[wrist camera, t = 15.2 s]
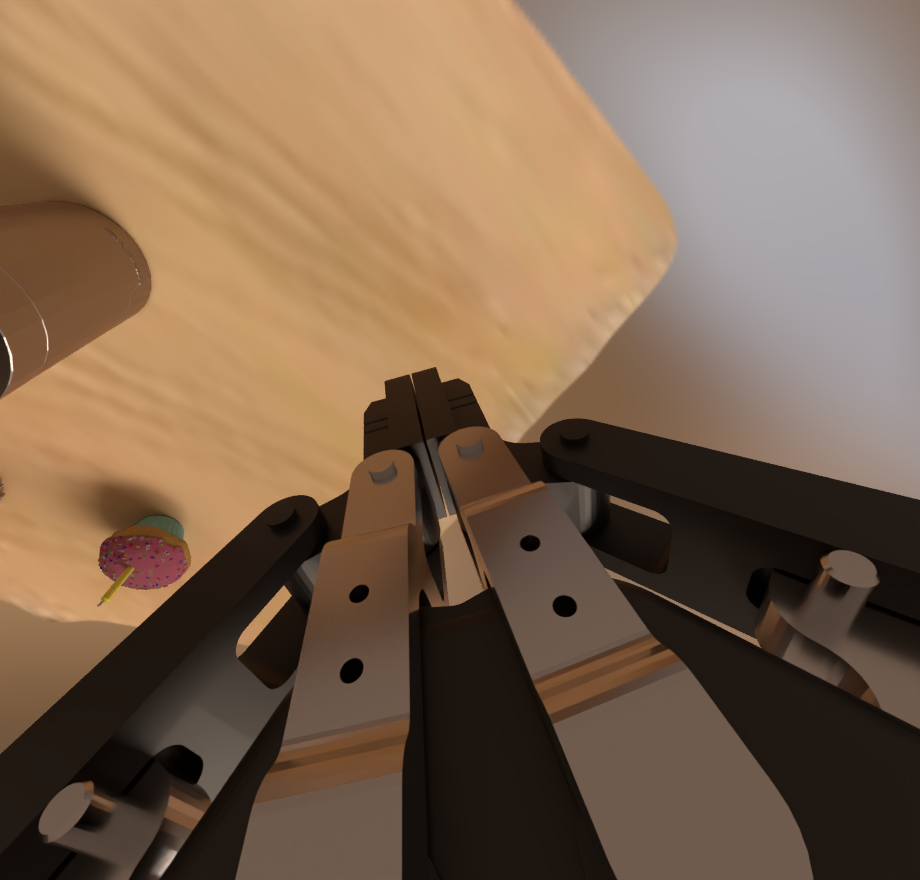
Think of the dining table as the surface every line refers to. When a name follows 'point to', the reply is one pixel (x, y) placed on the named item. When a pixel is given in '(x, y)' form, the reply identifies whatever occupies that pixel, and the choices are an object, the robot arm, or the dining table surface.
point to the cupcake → (145, 555)
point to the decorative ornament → (1, 494)
